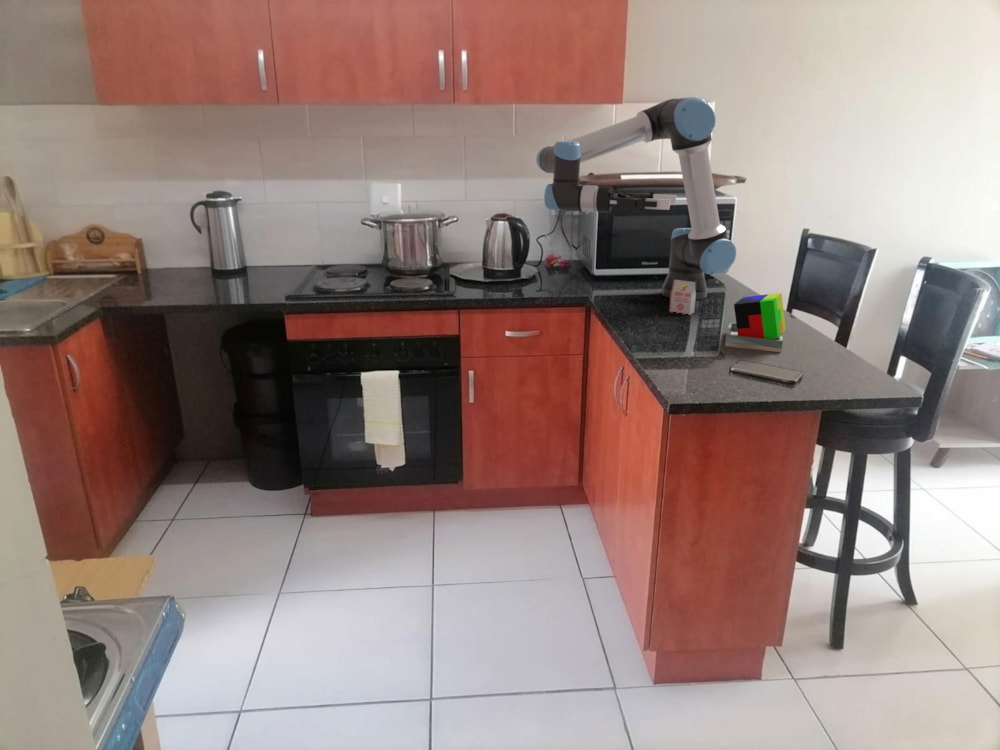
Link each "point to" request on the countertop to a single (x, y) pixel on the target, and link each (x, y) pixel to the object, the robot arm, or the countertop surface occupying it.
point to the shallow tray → (751, 341)
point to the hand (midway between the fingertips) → (673, 202)
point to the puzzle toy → (760, 316)
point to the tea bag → (682, 297)
